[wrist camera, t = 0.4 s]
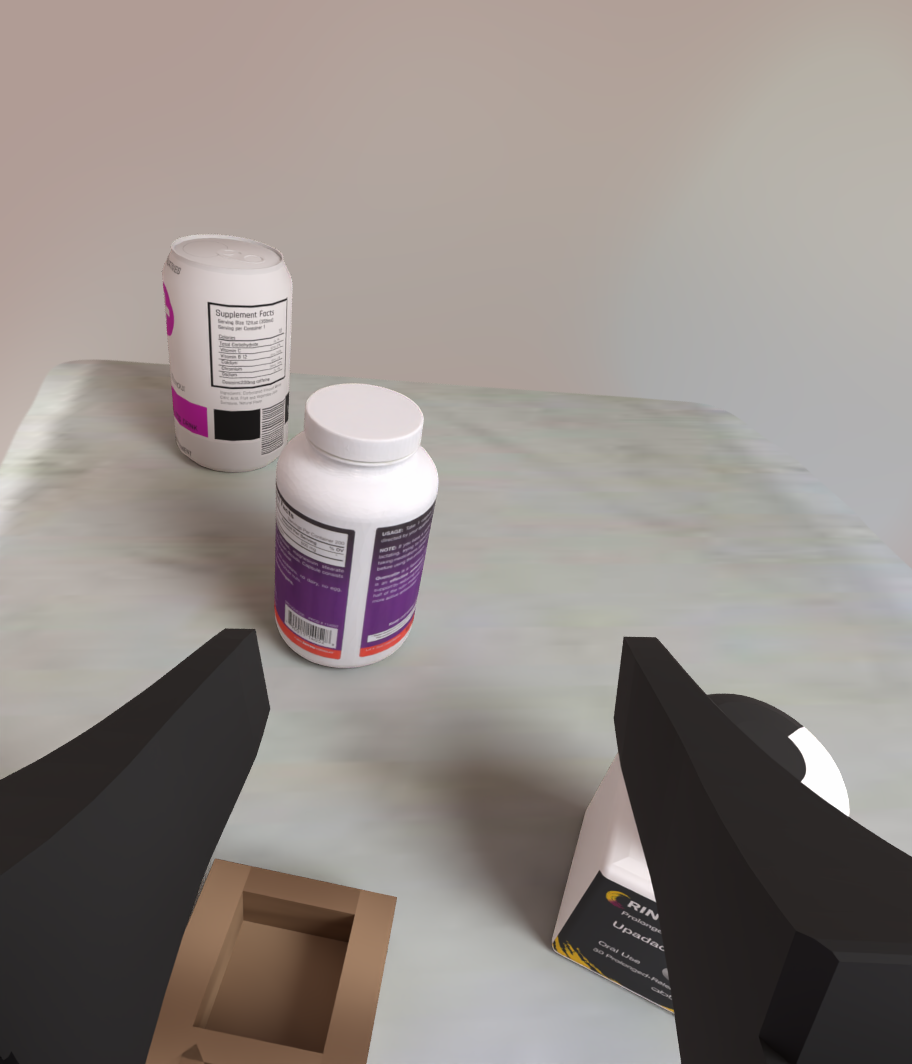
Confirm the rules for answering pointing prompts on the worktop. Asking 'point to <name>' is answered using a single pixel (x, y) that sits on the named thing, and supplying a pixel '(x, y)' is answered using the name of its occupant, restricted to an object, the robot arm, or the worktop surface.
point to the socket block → (275, 972)
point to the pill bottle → (352, 525)
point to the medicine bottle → (621, 870)
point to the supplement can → (228, 349)
